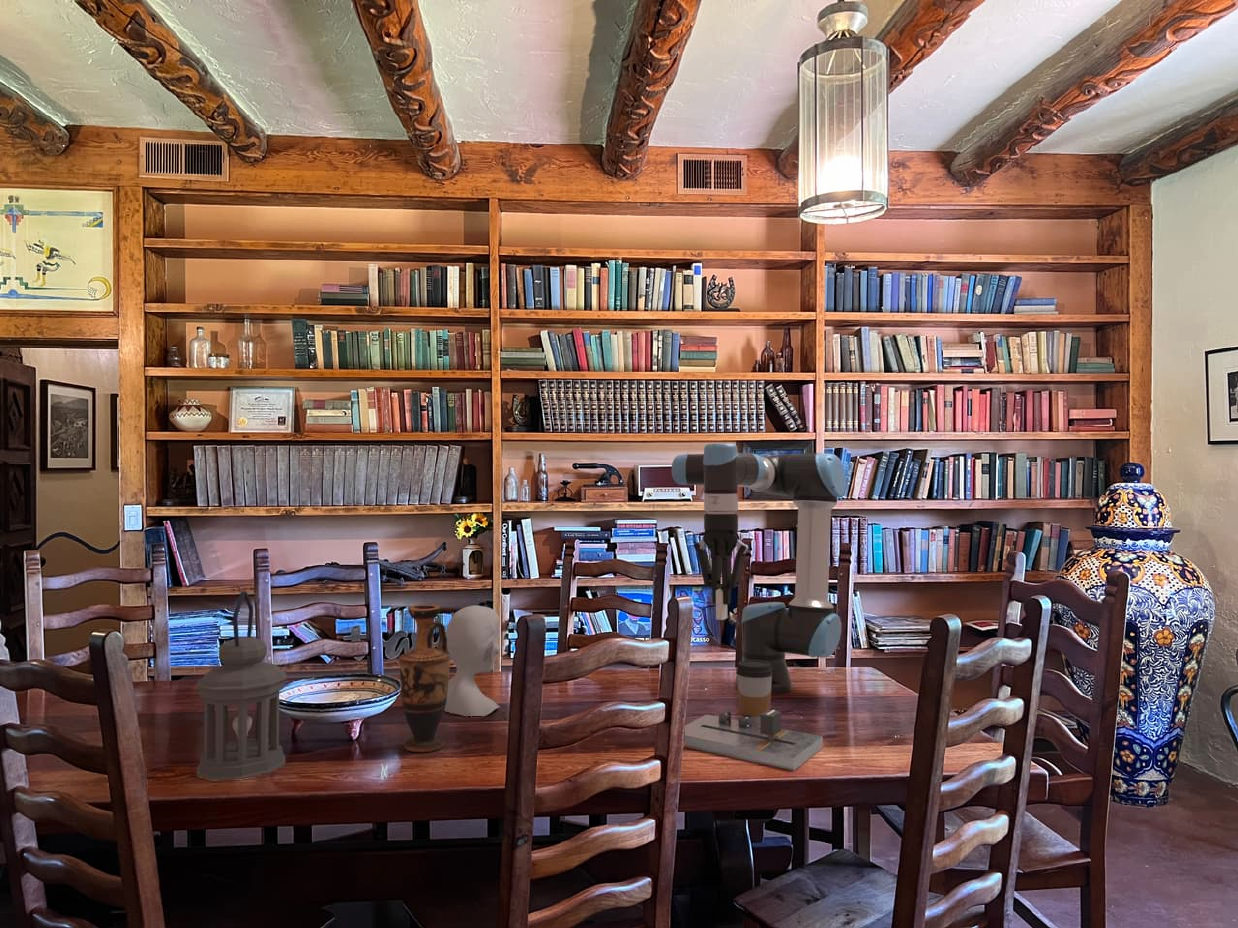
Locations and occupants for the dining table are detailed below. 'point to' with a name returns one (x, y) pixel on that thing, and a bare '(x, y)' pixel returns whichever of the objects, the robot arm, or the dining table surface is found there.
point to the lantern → (241, 708)
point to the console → (750, 741)
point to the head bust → (471, 658)
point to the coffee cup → (754, 688)
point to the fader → (770, 723)
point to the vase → (425, 681)
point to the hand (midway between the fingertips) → (721, 618)
